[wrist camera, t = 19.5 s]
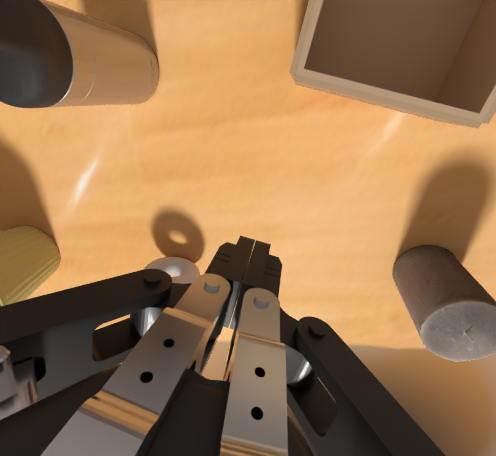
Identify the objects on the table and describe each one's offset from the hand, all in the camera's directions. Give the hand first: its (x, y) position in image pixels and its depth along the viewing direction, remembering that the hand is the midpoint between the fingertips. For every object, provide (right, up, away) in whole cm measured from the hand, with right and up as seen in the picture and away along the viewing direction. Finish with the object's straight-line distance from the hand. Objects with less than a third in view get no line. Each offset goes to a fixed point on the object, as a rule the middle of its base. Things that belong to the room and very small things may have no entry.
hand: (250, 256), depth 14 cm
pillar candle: (+28, -6, +33) cm, 44 cm away
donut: (-13, -5, +41) cm, 43 cm away
